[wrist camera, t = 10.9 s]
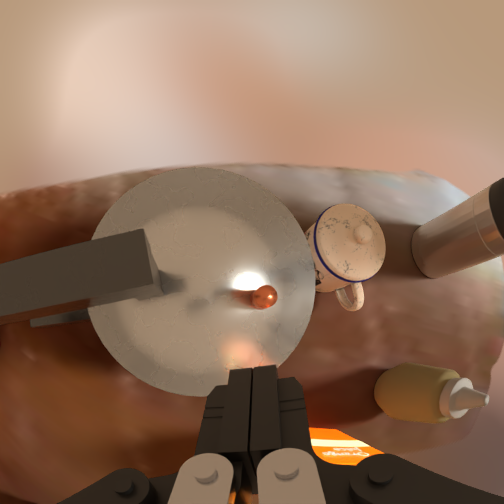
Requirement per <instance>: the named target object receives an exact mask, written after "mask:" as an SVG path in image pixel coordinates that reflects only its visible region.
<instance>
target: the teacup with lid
mask: <svg viewBox="0 0 504 504" xmlns="http://www.w3.org/2000/svg"><path fill="white" fill-rule="evenodd" d="M304 235H305V237H306V239H307V242H308V244H309V247H310V250H311V254H312V258H313V262H314V269H315V291H318V292H331V291H334V290H335V293H336V296H337V299H338V301H339V303H340V304H341V305H342V307H343V308H345V309H346V310H348V311H356V310H358V309H360V308H361V307H362V305H363V302H364V293H363V288H362V285H361V282H363V281H366V280H368V279H370V278H371V277H373V276H374V275H375V274H376V273H377V272H378V270H379V269H380V267H381V266H382V264H383V261H384V257H385V252H386V245H385V238H384V235H383V232H382V230H381V227H380V226H379V224H378V222H377V221H376V220H375V218H374V217H373V216H372V215H371V214H370V213H368V212H367V211H366V210H364V209H362V208H361V207H358V206H356V205H352V204H338V205H334V206H331V207H329V208H328V209H326V210H325V211H324V212H323V213H322V214H321V215H320V216H319V218H318V220H317V221H316V222H315V223H314V224H313V225H312V226H311V227H310V228H309V229H308V230H307V231H306V232H305V233H304ZM350 284H351V287H352V290H353V295H354V303H352V302H351V301H350V300H349V299H348V298H347V296H346V293H345V290H344V287H345V286H347V285H350Z"/></svg>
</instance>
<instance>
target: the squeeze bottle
mask: <svg viewBox="0 0 504 504" xmlns="http://www.w3.org/2000/svg"><path fill="white" fill-rule="evenodd" d="M374 397H375V401H376V402H377V404H378V405H379V406H380V408H381V409H382V410H383V411H384V412H385V413H386V414H387V415H388V416H390V417H392V418H393V419H397V420H406V421H415V422H426V423H443V422H445V421H447V420H448V419H450V418H454V419H455V418H460V417H461V416H463V415H464V414H465V413H466V412H467V410H468V409H470V408H476V407H481V406H486V405H487V404H488V402H489V396H488V395H487V394H484V393H481V392H479V391H476V390H473V386H472V384H471V381H470V380H469V379H467V378H460V377H459V374H458V373H456V372H455V371H454V370H450V369H444V368H438V367H432V366H426V365H421V364H415V363H403V364H401V365H398V366H396V367H394V368H392V369H390V370H388V371H385V372H384V373H383V374H382V375H381V376H380V377H379V378H378V380H377V382H376V384H375V388H374Z"/></svg>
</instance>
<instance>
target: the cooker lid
mask: <svg viewBox="0 0 504 504" xmlns="http://www.w3.org/2000/svg"><path fill="white" fill-rule="evenodd" d="M314 297H315V269H314V262H313V258H312V254H311V250H310V247H309V244H308V242H307V239H306V237H305V235H304V233H303V231H302V229H301V227H300V225H299V223H298V222H297V220H296V219H295V218H294V216H293V215H292V213H291V212H290V211H289V210H288V209H287V207H286V206H285V205H284V204H283V203H282V202H281V201H280V200H279V199H278V198H277V197H275V196H274V195H273V194H272V193H271V192H270V191H268V190H267V189H265V188H264V187H262V186H261V185H259V184H258V183H256V182H254V181H252V180H250V179H248V178H246V177H243V176H241V175H238V174H235V173H233V172H229V171H224V170H220V169H213V168H199V167H195V168H183V169H176V170H172V171H168V172H164V173H161V174H158V175H156V176H153V177H150V178H148V179H147V180H145V181H143V182H141V183H139V184H137V185H136V186H134V187H133V188H132V189H130V190H129V191H127V192H126V193H125V194H124V195H123V196H121V197H120V198H119V199H118V200H117V201H116V202H115V203H114V204H113V205H112V207H111V208H110V209H109V210H108V211H107V213H106V214H105V215H104V217H103V218H102V220H101V222H100V223H99V225H98V227H97V229H96V231H95V233H94V235H93V237H92V239H91V240H90V241H86V242H82V243H78V244H74V245H70V246H66V247H62V248H58V249H54V250H50V251H46V252H43V253H39V254H35V255H31V256H28V257H24V258H20V259H17V260H13V261H9V262H6V263H2V264H0V325H5V324H10V323H15V322H20V321H25V320H31V319H36V318H41V317H46V316H51V315H56V314H61V313H66V312H71V311H75V310H80V309H85V308H88V312H89V316H90V318H91V321H92V324H93V326H94V329H95V331H96V332H97V334H98V336H99V338H100V340H101V341H102V343H103V344H104V346H105V347H106V348H107V350H108V351H109V352H110V354H111V355H112V356H113V357H114V358H115V359H116V360H117V361H118V362H119V363H120V364H121V365H122V366H123V367H124V368H125V369H126V370H128V371H129V372H130V373H132V374H133V375H134V376H136V377H137V378H139V379H141V380H142V381H144V382H146V383H148V384H150V385H151V386H154V387H157V388H159V389H162V390H165V391H167V392H172V393H176V394H180V395H187V396H208V395H209V394H210V392H211V391H212V390H213V389H214V387H215V386H217V385H228V378H229V372H230V370H231V369H241V368H250V367H252V368H253V369H254V367H258V366H266V365H274V364H276V367H277V368H278V367H279V366H280V365H281V364H282V363H283V362H284V361H285V360H286V359H287V358H288V356H289V355H290V354H291V353H292V351H293V350H294V349H295V348H296V346H297V344H298V343H299V341H300V339H301V338H302V336H303V334H304V332H305V330H306V327H307V325H308V322H309V320H310V316H311V313H312V309H313V305H314Z"/></svg>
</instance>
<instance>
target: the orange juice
mask: <svg viewBox="0 0 504 504" xmlns="http://www.w3.org/2000/svg"><path fill="white" fill-rule="evenodd" d="M309 431H310V437H311V443H312V448H313V450H314V452H315V453H316V454H317V456H319V457H320V458H321V459H323V460H324V461H327V462H329V463H333V464H342V465H356V464H357V463H359V462H360V461H361V460H363V459H364V458H366V457H368V456H371V455H374V454H382V453H383V452H381V451H378V450H376V449H374V448H372V447H370V446H369V445H367V444H365V443H363V442H361V441H359V440H356V439H354V438H352V437H350V436H348V435H346V434H344V433H342V432H340V431H338V430H336V429H321V428H309Z"/></svg>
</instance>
